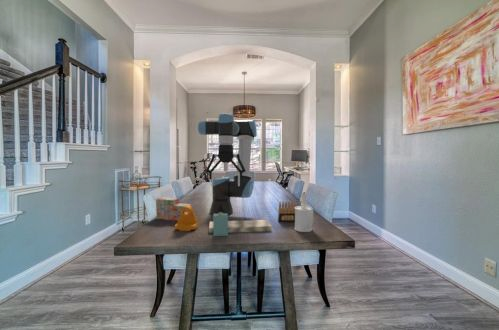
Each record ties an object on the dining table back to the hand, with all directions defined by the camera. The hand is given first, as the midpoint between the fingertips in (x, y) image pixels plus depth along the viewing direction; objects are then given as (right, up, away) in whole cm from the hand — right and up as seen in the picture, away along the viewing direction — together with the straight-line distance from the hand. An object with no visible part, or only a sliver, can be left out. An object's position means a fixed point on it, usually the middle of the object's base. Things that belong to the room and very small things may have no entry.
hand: (225, 185), depth 132 cm
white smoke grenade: (+41, -24, +3) cm, 47 cm away
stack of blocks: (-33, -22, +23) cm, 46 cm away
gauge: (-3, -23, +1) cm, 24 cm away
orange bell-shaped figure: (-21, -23, +5) cm, 32 cm away
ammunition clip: (+34, -23, +18) cm, 45 cm away
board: (+7, -23, +5) cm, 25 cm away
